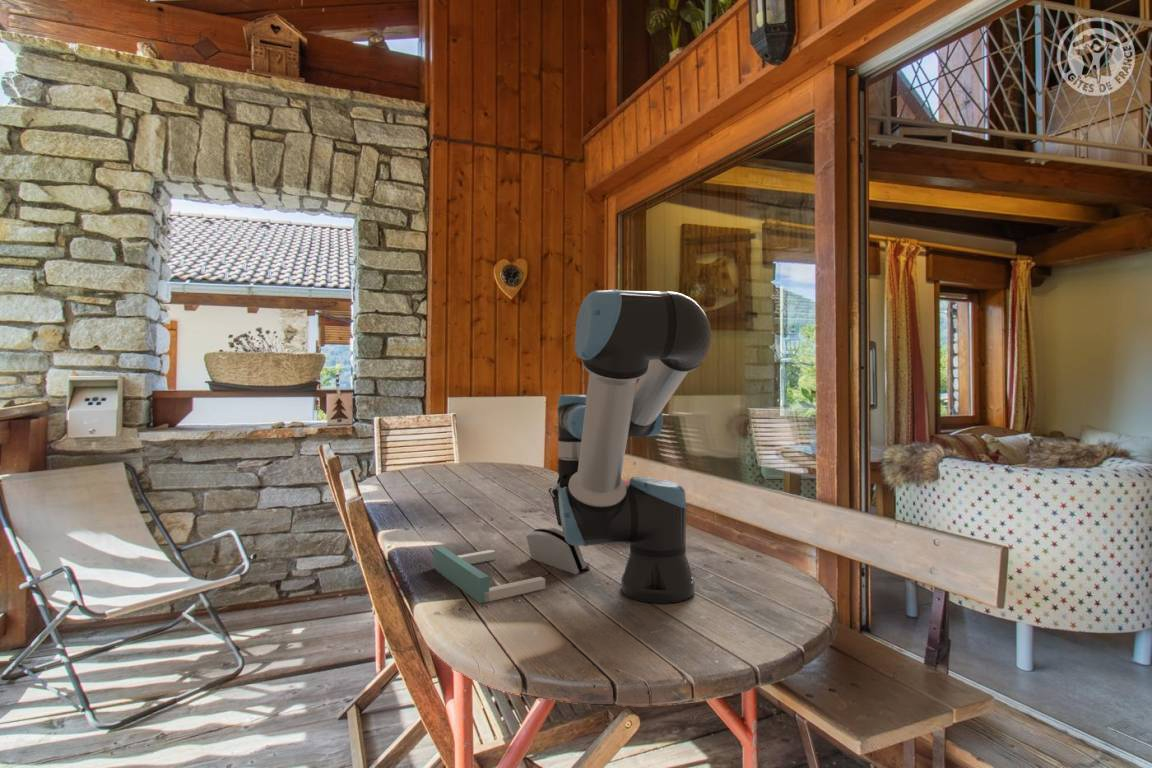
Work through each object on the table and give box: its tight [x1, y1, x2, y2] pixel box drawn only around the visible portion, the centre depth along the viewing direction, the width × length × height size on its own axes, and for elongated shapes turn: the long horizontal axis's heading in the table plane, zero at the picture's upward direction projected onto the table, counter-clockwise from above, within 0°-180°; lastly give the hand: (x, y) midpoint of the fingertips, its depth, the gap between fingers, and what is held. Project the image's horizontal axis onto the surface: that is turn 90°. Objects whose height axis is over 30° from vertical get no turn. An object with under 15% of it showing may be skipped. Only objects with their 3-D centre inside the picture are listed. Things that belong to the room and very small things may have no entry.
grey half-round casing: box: [526, 526, 591, 575], centre depth 142 cm, size 17×5×10 cm, turn 42°
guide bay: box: [432, 545, 546, 604], centre depth 133 cm, size 26×15×5 cm, turn 33°
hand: (573, 554), depth 146 cm, fingers closed
